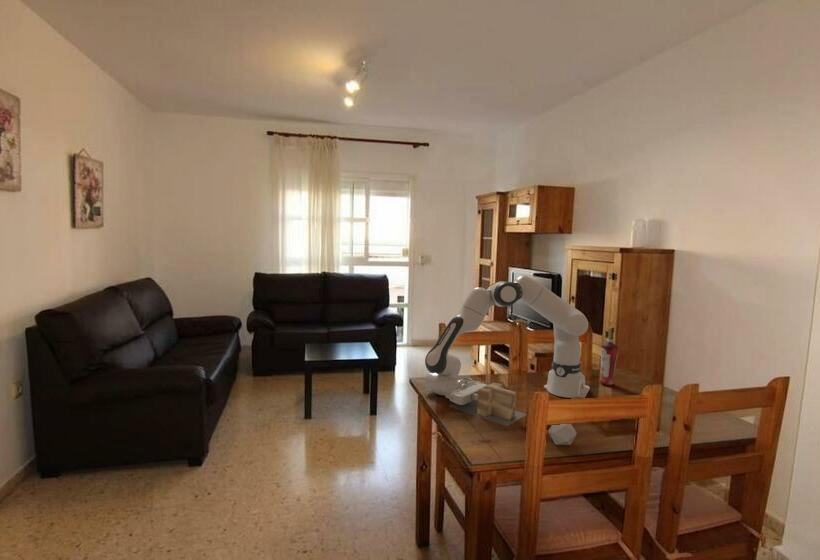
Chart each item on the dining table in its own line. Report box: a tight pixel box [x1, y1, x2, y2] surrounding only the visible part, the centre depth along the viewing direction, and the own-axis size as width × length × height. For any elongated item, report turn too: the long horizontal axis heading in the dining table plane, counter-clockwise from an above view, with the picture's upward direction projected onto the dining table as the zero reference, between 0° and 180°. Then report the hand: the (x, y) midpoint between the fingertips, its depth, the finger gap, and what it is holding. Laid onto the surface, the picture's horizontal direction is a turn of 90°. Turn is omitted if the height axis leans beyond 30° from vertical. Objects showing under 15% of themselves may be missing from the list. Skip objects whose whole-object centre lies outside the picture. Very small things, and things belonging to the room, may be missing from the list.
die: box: [547, 423, 577, 446], centre depth 161 cm, size 8×9×10 cm
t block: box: [477, 382, 517, 420], centre depth 183 cm, size 12×12×10 cm
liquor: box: [598, 326, 619, 386], centre depth 224 cm, size 7×7×28 cm
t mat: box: [448, 400, 528, 427], centre depth 187 cm, size 16×27×1 cm, turn 49°
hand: (485, 398), depth 187 cm, fingers closed
